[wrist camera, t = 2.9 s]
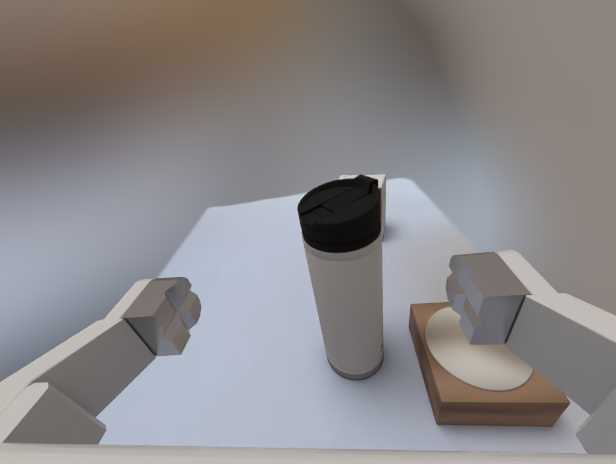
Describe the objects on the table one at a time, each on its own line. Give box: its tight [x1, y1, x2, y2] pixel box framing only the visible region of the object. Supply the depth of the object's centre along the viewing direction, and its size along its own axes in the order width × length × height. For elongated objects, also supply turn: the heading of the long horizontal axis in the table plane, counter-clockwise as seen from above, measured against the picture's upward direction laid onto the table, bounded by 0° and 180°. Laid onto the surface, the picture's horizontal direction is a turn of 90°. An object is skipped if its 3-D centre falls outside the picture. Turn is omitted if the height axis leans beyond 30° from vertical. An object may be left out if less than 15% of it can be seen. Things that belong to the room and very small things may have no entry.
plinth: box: [409, 302, 570, 426], centre depth 25 cm, size 10×9×4 cm
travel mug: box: [297, 175, 383, 379], centre depth 24 cm, size 6×7×20 cm
